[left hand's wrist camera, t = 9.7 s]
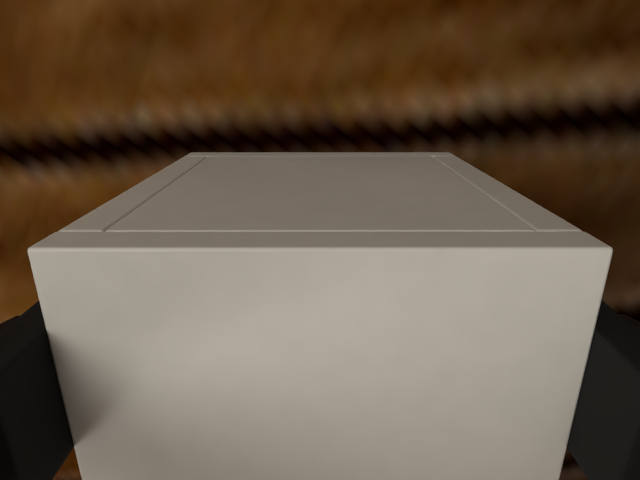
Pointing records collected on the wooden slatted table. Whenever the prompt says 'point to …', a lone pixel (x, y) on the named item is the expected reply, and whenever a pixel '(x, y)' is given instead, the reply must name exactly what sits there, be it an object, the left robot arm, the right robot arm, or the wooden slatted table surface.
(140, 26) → the wooden slatted table surface
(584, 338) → the cabinet
